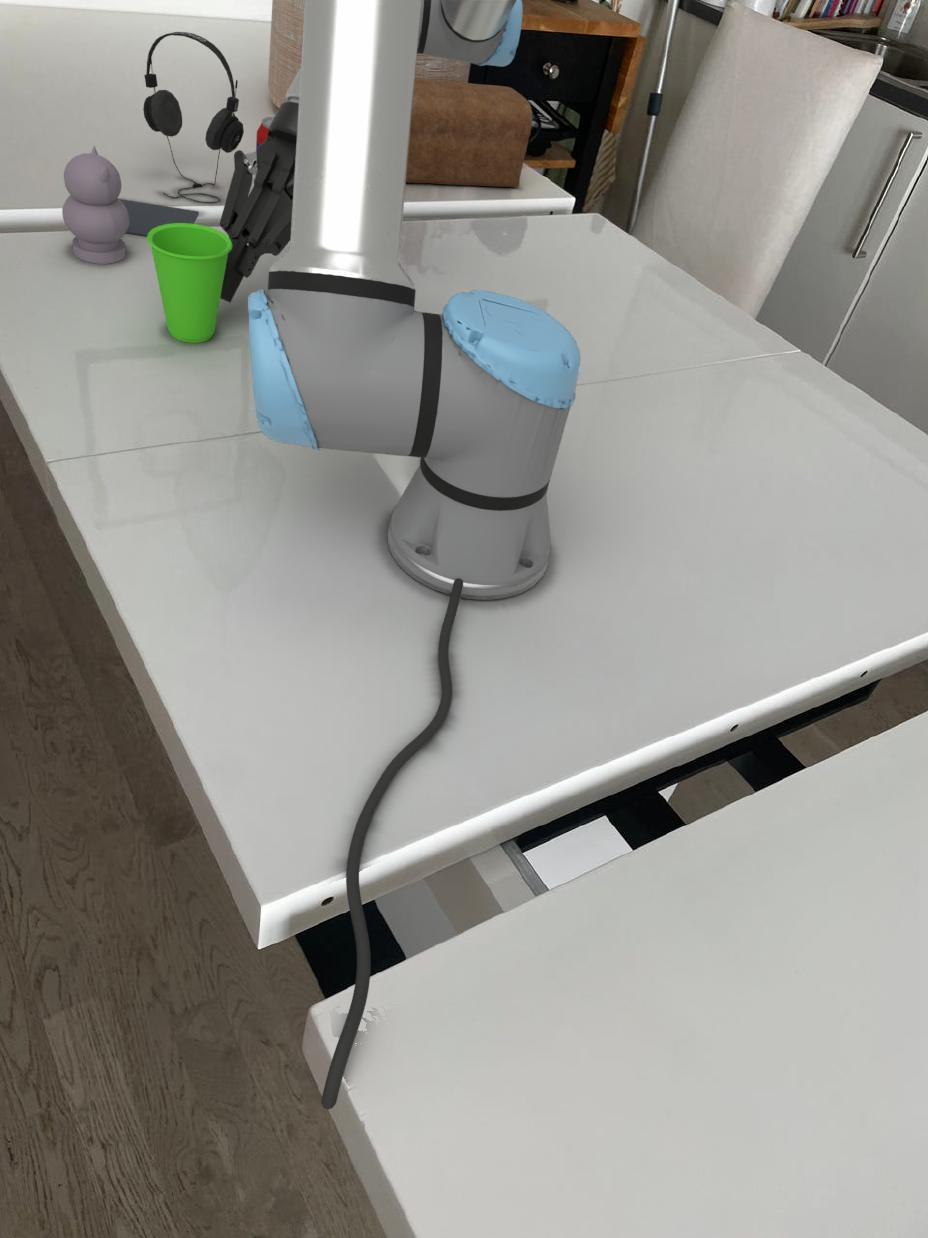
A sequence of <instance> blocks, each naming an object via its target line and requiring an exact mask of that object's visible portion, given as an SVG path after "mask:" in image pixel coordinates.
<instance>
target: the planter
mask: <svg viewBox="0 0 928 1238" xmlns="http://www.w3.org/2000/svg"><path fill="white" fill-rule="evenodd" d="M271 1H272V4H271V21H270V36H269V37H270V39H269V56H268V57H269V58H268V59H269V60H268V78H267V79H268V81H267V83H268V84H267V85H268V96H269V98H270V100H271V101H272V103H273V104H274V105H275V106H276V107H277V110H278V109H279V107H280V105H281V104H282V103H285V99H284V98H285V95H286V93H287V91H288V89H289V88H290V86H291V84H292V82H293V80H294V78H295V76H296V75H297V73H298V71H299V69H300V68H301V61H302V45H303V28H304V12H305V0H271ZM470 68H471V63H468V62H463V61H457V60H452V59H446V58H441V57H436V56H430V55H425V54H420V53H417V58H416V70H415V78H420V79H430V80H438V81H454V82H464V83H469V77H470Z"/></svg>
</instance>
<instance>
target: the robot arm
mask: <svg viewBox="0 0 928 1238" xmlns="http://www.w3.org/2000/svg"><path fill="white" fill-rule="evenodd" d="M523 10H524V9H523V0H305V12H304V28H303V45H302V61H301V68H300V69H299V71H298V73H297V75H296V76H295V78H294V80H293V82H292V84H291V86H290V88H289V89H288V91H287V93H286V95H285V98H284V99H285V103H282V104H281V105H280V107H279V109H278V108H277V111H276V113H275V115H274V116H273V117H274V119H273V121H272V123H271V124H270V127H269V132H268V136H267V139H266V140H265V141H264V142H263V143H262V144H261V145H260V146H259V147H258V148H257V151H256V150H255V151H253V152H248V153H244V151H242V150H240V149H238V150H236V151H235V152H234V154H233V162H234V170H233V174H232V177H231V180H230V181H231V182H230V184H229V188H228V192H227V196H226V199H225V202H224V206H223V210H222V213H221V217H220V219H219V226H220V228H221V229H222V230H223V231H224V233H225V234H226V235H227V236H228V237H229V238H230V240H231V243H232V249H231V250H230V252H229V253H228V256H227V262H226V268H225V274H224V279H223V285H222V291H221V297H220V300H223V301H225V302H228V303H231V302H232V300H233V298H234V296H235V294H236V292H237V291H238V288H239V286H240V285H241V283H242V281H243V279H244V278H247V279H248V278H249V277H250V276H251V275H252V273H253V271H254V269H255V267H256V265H257V263H259V260H260V258H261V256H264V255H266V254H267V255H268V254H269V255H272V256H275V257H277V256H279V255H280V254H281V253H282V251H283V250H284V249H285V247H286V246H287V245H288V244H289V247H288V249H287V251H286V252H285V254H284V255H282V256H280V258H279V259H278V260H276V261H275V262H274V263H273V264H272V265H271V266H270V267H269V268H268V279H267V291H265V289H264V290H263V289H258V290H257V291H253V292H251V293H250V294H249V295H248V297H247V312H248V341H249V354H250V369H251V380H252V390H253V399H254V400H253V401H254V408H255V414H256V420H257V421H256V422H257V425H258V427H259V429H260V431H261V432H262V434H263V435H264V436H265V437H266V438H267V439H269V440H270V441H273V442H275V443H279V444H285V445H290V446H291V445H292V446H299V447H306V448H311V449H312V450H313V451H320V449H322V450H323V449H324V450H334V451H346V452H354V453H355V452H357V453H368V454H378V455H379V454H380V455H388V456H389V455H390V456H401V457H412V458H420V460H419V465H418V467H417V469H416V470H415V472H414V474H413V476H412V477H411V479H410V480H409V483H408V484H407V485H406V488H405V489H404V491H403V492H402V494H401V497H400V498H399V499H398V501H397V503H396V505H395V506H394V508H393V510H392V512H391V515H390V518H389V524H388V525H389V526H388V532H387V544H388V548H389V551H390V553H391V555H392V557H393V559H394V561H395V562H396V563H397V564H398V565H399V567H400V568H401V569H402V570H403V571H404V572H405V573H406V574H408V575H409V576H410V577H412V578H413V579H414V580H416V581H417V582H418V583H420V584H422V585H424V586H426V587H428V588H429V589H432V590H435V591H436V592H439V593H440V592H441V593H443V594H445V595H449V600H448V604H447V606H446V607H447V608H446V612H445V615H444V618H443V622H442V626H441V629H440V634H439V639H438V646H437V647H438V649H437V658H438V659H437V660H438V667H439V674H440V675H439V676H440V682H441V683H440V684H441V697H440V702H439V705H438V708H437V710H436V712H435V715H434V716H433V718H432V720H431V721H430V722H429V724H428V725H427V726H426V727H425V728H424V729H423V730H422V731H421V732H420V733H419V734H418V735H417V736H415V738H414V739H412V741H410V742H409V743H408V744H406V745H405V746H404V748H402V750H400V752H398V753H397V755H395V757H393V759H392V760H391V761H390V763H389V764H388V765H387V766H386V768H385V769H384V771H383V772H382V773H381V775H380V777H379V779H378V781H377V782H376V784H375V785H374V787H373V789H372V791H371V792H370V794H369V795H368V798H367V799H366V801H365V804H363V807H362V810H361V812H360V814H359V817H358V819H357V821H356V824H355V827H354V830H353V832H352V833H353V834H352V837H351V840H350V845H349V850H348V855H347V860H346V869H345V870H346V871H345V886H346V894H347V895H346V896H347V897H346V898H347V903H348V908H349V914H350V919H351V924H352V929H353V934H354V941H355V947H356V973H355V984H354V989H353V993H352V998H351V1002H350V1005H349V1009H348V1012H347V1016H346V1018H345V1021H344V1024H343V1026H342V1029H341V1033H340V1035H339V1038H338V1040H337V1043H336V1046H335V1050H334V1053H333V1055H332V1057H331V1058H332V1059H331V1062H330V1064H329V1069H328V1072H327V1075H326V1079H325V1083H324V1087H323V1091H322V1095H321V1105H322V1107H323V1109H325V1110H328V1111H329V1110H331V1109H333V1108H334V1107H335V1106H336V1104H337V1102H338V1097H339V1093H340V1089H341V1085H342V1081H343V1077H344V1074H345V1071H346V1070H345V1069H346V1067H347V1063H348V1061H349V1057H350V1055H351V1051H352V1048H353V1046H354V1042H355V1039H356V1036H357V1034H358V1031H359V1028H360V1026H361V1025H360V1024H361V1022H362V1019H363V1016H364V1012H365V1008H366V1004H367V999H368V995H369V990H370V982H371V968H372V960H371V945H370V937H369V932H368V931H369V930H368V926H367V921H366V917H365V911H364V908H363V907H364V906H363V902H362V897H361V890H360V889H361V888H360V868H361V859H362V853H363V848H364V844H365V840H366V836H367V832H368V829H369V827H370V823H371V821H372V819H373V816H374V814H375V812H376V810H377V808H378V806H379V804H380V802H381V801H382V798H383V796H384V795H385V793H386V791H387V789H388V788H389V786H390V784H391V783H392V781H393V779H394V778H395V776H396V775H397V773H398V772H399V771H400V769H402V767H403V766H404V765H405V763H407V762H408V760H409V759H410V758H412V757H413V756H414V755H415V754H416V753H417V752H418V751H419V750H420V749H422V747H424V746H425V745H426V744H427V743H428V742H429V741H430V740H431V739H433V737H434V736H435V735H436V733H438V731H439V730H440V728H441V727H442V725H443V724H444V723H445V721H446V719H447V717H448V714H449V712H450V709H451V705H452V700H453V682H452V681H453V680H452V674H451V669H450V668H451V667H450V661H449V648H450V647H449V646H450V639H451V634H452V630H453V627H454V622H455V620H456V616H457V611H458V609H459V608H458V607H459V604H460V599H468V600H476V601H477V600H479V601H484V600H485V601H490V600H500V599H501V600H502V599H507V598H511V597H514V596H517V595H520V594H522V593H525V592H526V591H528V590H530V589H531V588H533V587H535V585H536V584H538V583H539V581H540V580H542V579H543V576H544V574H545V572H546V570H547V567H548V563H549V559H550V556H551V552H552V538H551V528H550V518H549V508H548V497H547V496H548V495H547V493H548V489H549V485H550V481H551V478H552V475H553V470H554V468H555V463H556V460H557V457H558V453H559V449H560V446H561V442H562V438H563V435H564V431H565V428H566V424H567V421H568V418H569V413H570V410H571V407H572V406H573V404H574V403H575V401H576V390H577V383H578V379H579V373H580V367H581V351H580V348H579V344H578V343H577V341H576V339H575V338H574V336H573V334H572V333H571V332H570V331H569V329H567V327H566V326H565V325H564V324H563V323H561V322H560V321H558V319H556V318H555V317H554V316H552V315H550V314H549V313H548V312H546V311H544V310H543V309H542V308H540V307H537V306H536V305H533V304H531V303H529V302H526V301H524V300H522V299H519V298H517V297H514V296H511V295H507V294H504V293H499V292H495V291H489V290H476V289H474V290H473V289H472V290H470V291H468V292H466V291H460V292H458V293H456V294H454V295H452V296H450V298H449V299H448V301H447V302H446V304H444V306H443V308H442V312H441V313H433V312H432V313H431V312H424V311H418V310H415V303H416V294H417V293H416V291H417V290H416V289H417V288H416V283H414V281H413V280H412V279H411V277H410V276H409V275H408V273H407V272H406V270H404V268H403V267H402V265H401V260H400V254H401V243H402V242H401V241H402V231H403V230H402V229H403V219H404V208H405V207H404V206H405V195H406V185H407V184H406V183H407V182H406V174H407V162H408V151H409V139H410V128H411V116H412V105H413V93H414V81H415V70H416V58H417V53H420V54H425V55H430V56H436V57H441V58H446V59H452V60H457V61H463V62H468V63H470V64H473V65H476V66H478V67H479V66H480V67H482V66H484V67H485V66H493V67H494V66H495V67H500V68H501V67H507V66H508V65H510V64H511V63H512V62H513V60H514V59H515V56H516V52H517V48H518V47H519V43H520V37H521V31H522V24H523V13H524V12H523ZM257 165H258V173H257V175H256V177H254V179H253V176H254V175H255V174H256V171H255V170H256V167H257ZM252 184H253V187H252ZM288 207H289V208H288Z"/></svg>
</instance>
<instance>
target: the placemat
mask: <svg viewBox="0 0 928 1238" xmlns="http://www.w3.org/2000/svg"><path fill="white" fill-rule="evenodd" d="M118 199H119V200H120V201H121V202H122V203H123V204H124V205H125V207H126V209H127V211H128V215H129V227H128V229H127V231H126V233H125V234H128V235H129V234H130V235H137V236H143V237H147V235H148V233H149V232H150V231H151V230H152V229H153V228H156V227H158V226H161V225H165V224H173V223H188V224H195V222H196V220H197V217H198V215H199V213H200V211H199V210H192V209H185V208H178V207H173V206H166V205H161V204H154V203H147V202H143V201H142V202H141V201H134V200H128V199H122V198H118Z"/></svg>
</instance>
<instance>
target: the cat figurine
mask: <svg viewBox="0 0 928 1238" xmlns="http://www.w3.org/2000/svg"><path fill="white" fill-rule="evenodd" d="M63 180H64V186H65V189H66V191H67V192H68V194H69V195H68V197H67V198H66V199H65V201H64V203H63V205H62V210H61V211H62V220H63V223H64V225H65V226H66V228H67V229H68V230H69V232H71V234H72V235H74V237H73V239H72V241H71V242H72V252H73V255H74V256H75V257H76V258H77V259H79V260H81V261H83V262H86V263H91V264H99V265H106V264H107V265H108V264H115V263H118V262H121V261H123V260H125V258H126V257H127V254H126V253H127V251H126V242H125V240H123V239H122V238H123V237H124V235H125V234H127V233H126V231H127V229H128V227H129V215H128V211H127V209H126V207H125V205H124V204H123V203H122V202H121V201H120V200H119V199H120V198H119V196H120V194H121V191H122V179H121V176H120V172H119V170H118V169H117V168H116V166H115V165H114V164H113V163H112V162H111V161H110V160H108V159H107V158H105V157H104V156H101V155H99V153H98V151H97V148H96V146H95V145H93V146H92V149H91V152H90V153H88V152H86V153H80V154H78V155H76V156H74V157H72V158H71V159H70V160H69V161H68V162H67V164H66V165H65V167H64V170H63Z"/></svg>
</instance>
